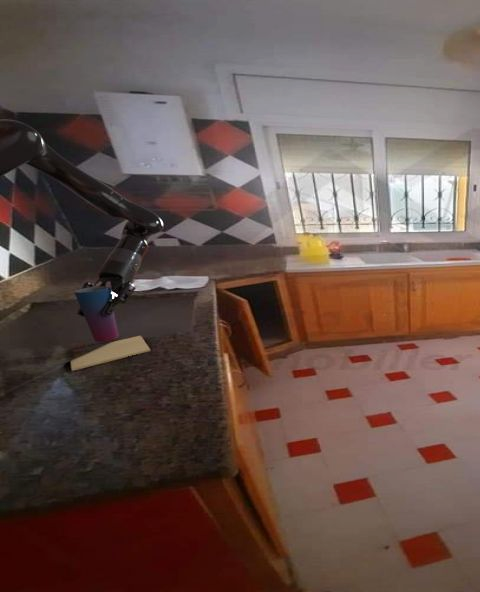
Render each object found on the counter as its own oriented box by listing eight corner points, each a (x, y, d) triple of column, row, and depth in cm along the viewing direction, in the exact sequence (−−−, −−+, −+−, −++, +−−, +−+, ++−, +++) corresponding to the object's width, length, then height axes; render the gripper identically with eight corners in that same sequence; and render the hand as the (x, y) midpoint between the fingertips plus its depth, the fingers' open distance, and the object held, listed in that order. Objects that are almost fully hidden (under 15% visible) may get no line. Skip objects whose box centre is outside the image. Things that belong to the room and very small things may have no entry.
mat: (71, 371, 83) (71, 369, 82) (70, 353, 93) (69, 351, 93) (150, 350, 94) (150, 349, 94) (141, 337, 104) (140, 335, 104)
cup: (87, 345, 88) (70, 293, 84) (93, 337, 93) (77, 288, 89) (120, 339, 92) (106, 289, 88) (124, 332, 97) (110, 285, 93)
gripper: (87, 259, 94) (54, 309, 86) (134, 259, 93) (105, 309, 85) (109, 272, 100) (81, 321, 92) (153, 272, 100) (129, 321, 92)
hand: (93, 315), depth 89 cm, fingers closed on cup, 6 cm apart
